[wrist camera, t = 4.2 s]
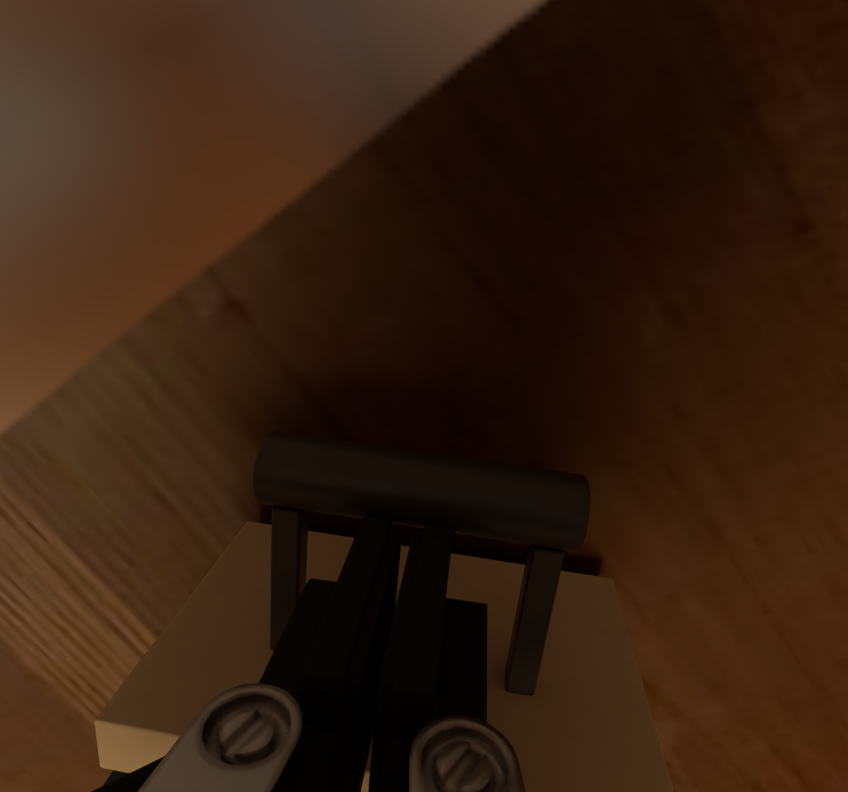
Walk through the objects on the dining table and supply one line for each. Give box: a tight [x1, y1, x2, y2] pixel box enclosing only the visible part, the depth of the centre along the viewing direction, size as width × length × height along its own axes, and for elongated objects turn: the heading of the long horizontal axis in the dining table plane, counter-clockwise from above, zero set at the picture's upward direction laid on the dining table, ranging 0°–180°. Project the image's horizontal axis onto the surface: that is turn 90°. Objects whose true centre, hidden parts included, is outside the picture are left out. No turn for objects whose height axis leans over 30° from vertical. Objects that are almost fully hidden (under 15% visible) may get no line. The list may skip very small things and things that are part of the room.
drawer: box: [95, 431, 674, 792], centre depth 15 cm, size 17×10×7 cm, turn 174°
